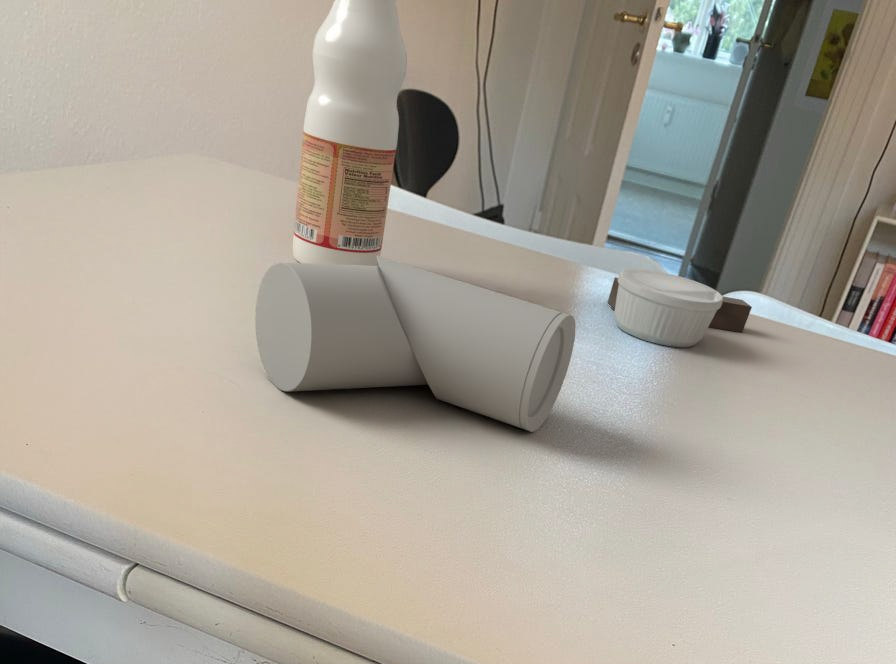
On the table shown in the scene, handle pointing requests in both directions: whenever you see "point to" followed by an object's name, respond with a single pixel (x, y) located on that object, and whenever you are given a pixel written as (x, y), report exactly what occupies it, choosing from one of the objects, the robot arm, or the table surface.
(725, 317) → the stop bar
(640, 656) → the table surface
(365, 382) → the elbow connector
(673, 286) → the ramekin
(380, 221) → the fruit juice
